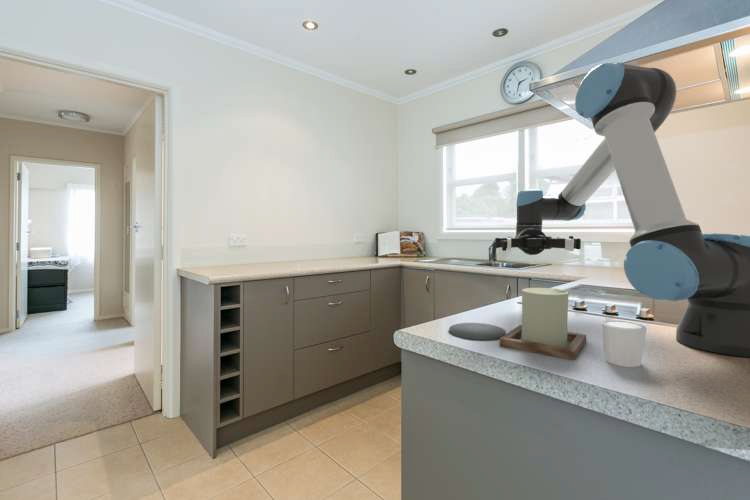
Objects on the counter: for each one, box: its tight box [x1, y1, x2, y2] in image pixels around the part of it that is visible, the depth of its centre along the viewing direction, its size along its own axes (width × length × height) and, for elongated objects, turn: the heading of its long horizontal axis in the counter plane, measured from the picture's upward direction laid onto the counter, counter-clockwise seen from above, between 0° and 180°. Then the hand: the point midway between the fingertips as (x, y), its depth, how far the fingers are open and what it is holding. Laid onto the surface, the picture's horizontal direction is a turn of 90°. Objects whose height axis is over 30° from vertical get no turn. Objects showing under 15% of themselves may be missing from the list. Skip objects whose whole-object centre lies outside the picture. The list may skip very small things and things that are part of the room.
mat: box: [448, 322, 507, 341], centre depth 88 cm, size 13×13×1 cm
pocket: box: [499, 324, 587, 361], centre depth 79 cm, size 14×14×2 cm
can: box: [520, 287, 570, 348], centre depth 79 cm, size 9×9×12 cm
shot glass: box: [601, 320, 648, 368], centre depth 68 cm, size 7×7×7 cm
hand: (540, 244), depth 87 cm, fingers open, 13 cm apart
